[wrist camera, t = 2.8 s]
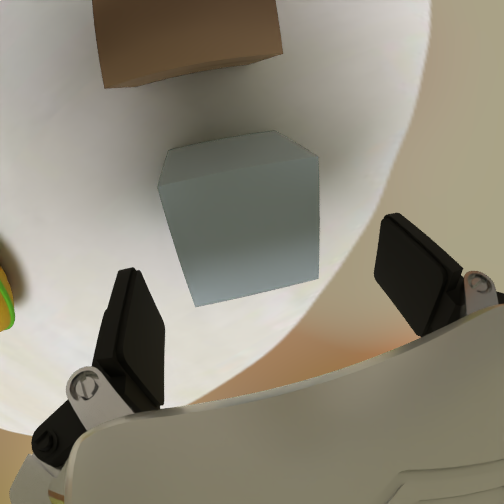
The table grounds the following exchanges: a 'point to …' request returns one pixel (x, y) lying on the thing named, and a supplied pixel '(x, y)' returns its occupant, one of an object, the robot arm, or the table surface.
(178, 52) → the walnut block
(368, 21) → the table surface
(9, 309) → the toy pineapple
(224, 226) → the gray block
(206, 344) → the table surface
